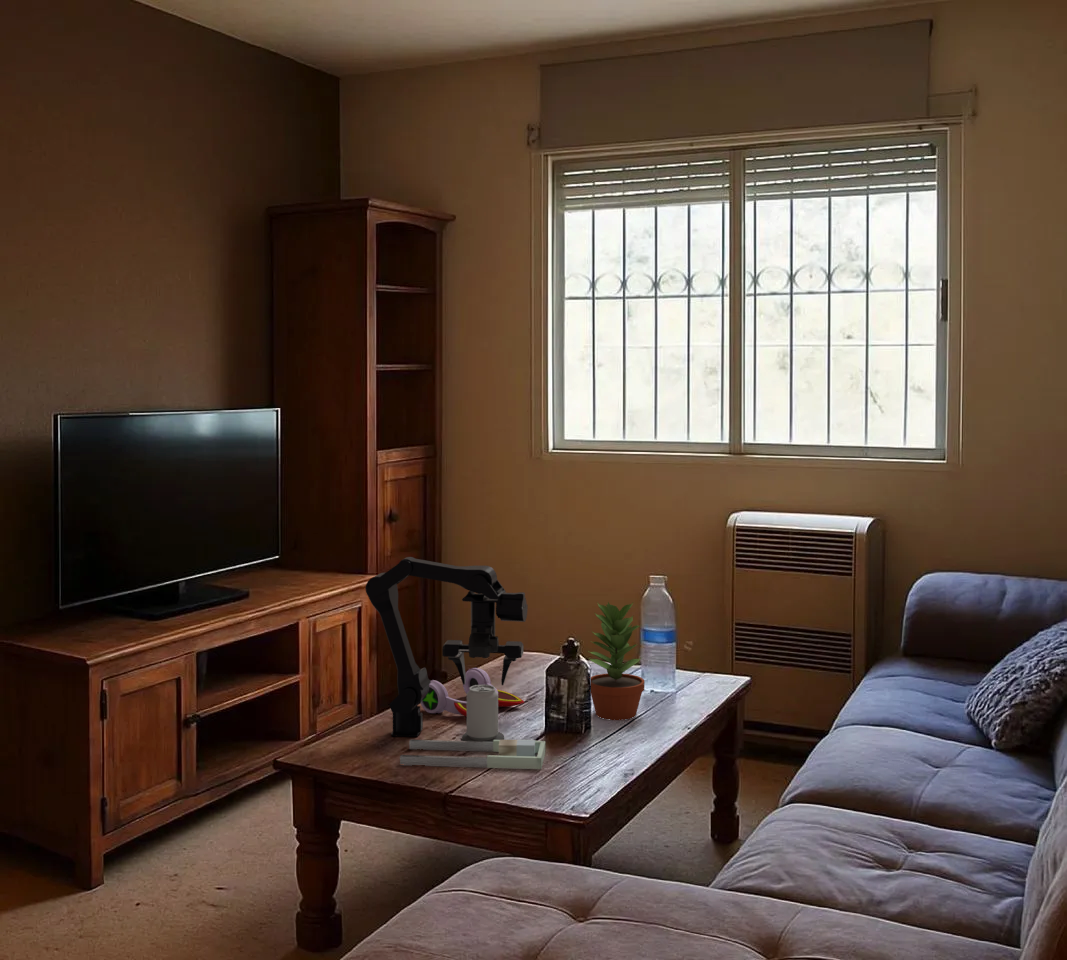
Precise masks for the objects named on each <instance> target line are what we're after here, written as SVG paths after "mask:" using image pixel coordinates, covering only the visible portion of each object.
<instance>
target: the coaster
mask: <svg viewBox="0 0 1067 960" xmlns="http://www.w3.org/2000/svg"><path fill="white" fill-rule="evenodd" d="M493 740H505V735H504V734H503V733H502V732H499V731H498V734H497V735H496V736H495V737H494V738H493V739H490V740H474V739H472V738H470V736H468V735H467V732H465V733H463V734H462V736H461V741H484V742H493Z"/></svg>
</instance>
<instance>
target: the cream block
mask: <svg viewBox="0 0 1067 960" xmlns="http://www.w3.org/2000/svg"><path fill="white" fill-rule="evenodd" d="M517 740H518V739H504V740H500V741H499V752H498V756H517Z"/></svg>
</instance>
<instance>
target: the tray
mask: <svg viewBox="0 0 1067 960" xmlns="http://www.w3.org/2000/svg"><path fill="white" fill-rule="evenodd" d="M499 741H500V740H493V752H495V753H496V752H497V753H499ZM493 752H492V753H493ZM535 754H536V755H537V756H535V757H534V756H499V754H498V755H496V754H495V755H492V754H491V755H489V754H488V755H486V757H487V768H488V769H515V770H516V769H517V770H519V769H520V770H522V769H523V770H542V768H543V764H544V760H545V756H546V740H535Z"/></svg>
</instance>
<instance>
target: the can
mask: <svg viewBox="0 0 1067 960" xmlns="http://www.w3.org/2000/svg"><path fill="white" fill-rule="evenodd" d="M491 685H492V684H491ZM491 685H474V686H471V687H470V688H469V690H470V691H469V692H468V693H467V694H466V702H467V717H466V733H467V735H468V736H470V738H472V739H474V740H490V739H493V738H494V737H495V736H496V735H497V734H498V732H499V706H498V693H497V692H496V691H495V688H496V687H495V686H494V685H493V686H491Z"/></svg>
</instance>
